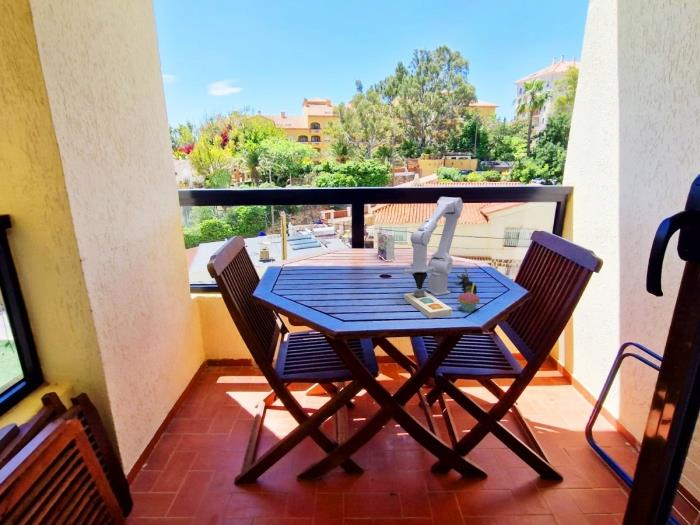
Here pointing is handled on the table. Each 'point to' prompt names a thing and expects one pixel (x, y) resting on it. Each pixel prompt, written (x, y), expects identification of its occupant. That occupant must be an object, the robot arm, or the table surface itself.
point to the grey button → (418, 294)
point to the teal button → (426, 300)
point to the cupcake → (468, 300)
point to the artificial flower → (467, 283)
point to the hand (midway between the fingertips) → (419, 288)
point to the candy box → (386, 245)
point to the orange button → (435, 306)
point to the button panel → (428, 305)
